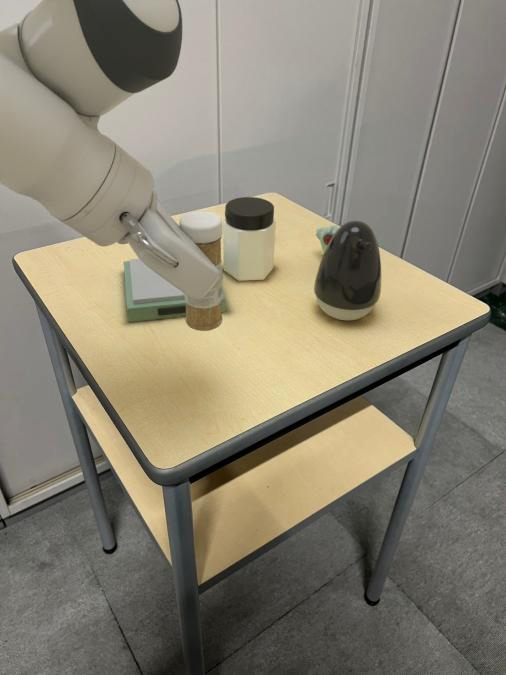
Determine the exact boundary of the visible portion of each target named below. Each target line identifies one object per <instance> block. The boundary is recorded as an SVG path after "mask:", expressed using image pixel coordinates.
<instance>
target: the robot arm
mask: <svg viewBox="0 0 506 675" xmlns="http://www.w3.org/2000/svg"><path fill="white" fill-rule="evenodd" d="M182 41H183V15H182V9H181V5H180V3H179V0H41V1H40V2H39V3H38V4H37V5H36V6H35V7H34V8H33V9H32V10H30V11H29V12H28V13H26V14H25V16H24V17H23V18H22V19H21V20H20V21H19V22H14V23H13V24H12V25H10V26H8V27H5V29H2V30H0V184H1V185H3V186H4V187H6V188H7V189H8V190H10V191H12V192H14V193H16V194H19V195H22V196H26V197H28V198H30V199H32V200H34V201H36V202H38V203H39V204H40V205H42V206H43V207H44V208H45V209H46V211H47V212H49V214H50V215H51V216H52V217H53V218H55V219H56V220H58V221H59V222H61V223H62V224H64V225H66V227H68V228H70V229H72V230H73V231H75V232H77V233H78V234H80V235H81V236H83V237H85V238H86V239H87V240H88V241H91V242H92V243H94V244H96V246H99V247H109V246H112V245H114V244H116V243H117V244H118V245H127V244H128V245H129V246H130V248H131V250H132V251H133V252H134V254H135V255H136V256H137V259H140V260H141V261H142V262H143V263H144V264H145V265H147V266H148V267H149V268H150V269H151V270H153V271H154V272H155V273H157V274H158V275H159V276H161V277H162V278H163V279H165V280H166V281H168V282H169V283H170V284H172V285H173V286H175V287H176V288H177V289H179V290H180V291H182V292H183V293H185V294H186V295H188V296H189V297H191V298H193V299H197V300H200V299H202V298H203V297H204V296H205V295H206V294H207V293H208V292H209V290H210V289H211V288H215V287H217V286H218V285H219V284H220V282H221V281H222V282H223V281H224V280H223V279H224V276H223V273H222V274H221V273H220V271H219V270H218V269H217V268H216V267H215V265H214V264H213V263H212V262H211V261H210V260H209V259H208V258H207V256H206V255H205V254H204V253H203V252H202V251H201V250H200V249H199V247H198V246H197V245H196V244H195V243H194V242H193V241H192V240H191V238H190V237H189V236H188V235H187V234H186V233H185V232H184V231H183V230H182V229H181V228H180V226H179V223H178V222H176V220H175V219H174V218H173V217H172V216H171V214H170V213H169V212H168V211H167V210H166V209H165V208H164V207H163V206H162V204H161V203H160V202H159V198H158V194H157V192H156V191H155V190H154V183H155V182H154V176H153V174H152V171H150V170H149V169H147V167H146V166H144V165H143V164H142V163H141V162H139V160H137V159H135V157H133V156H132V155H131V154H129V153H128V152H127V151H126V150H125V149H123V148H122V147H121V146H120V145H119V144H117V142H115V141H114V140H113V139H111V138H110V137H109V136H107V135H105V134H103V133H101V131H100V130H99V127H98V124H99V121H100V119H101V117H102V116H104V115H106V114H107V113H109V112H111V111H112V110H114V109H115V108H116V107H118V106H119V105H121V104H122V103H123V102H125V101H126V100H128V99H129V98H131V97H132V96H133V95H136V94H138V93H141V92H144V91H145V90H146V89H148V88H150V87H153V86H154V85H156V84H158V83H160V82H162V81H164V80H166V79H168V78H169V77H171V76H172V75H173V74H174V72H175V71H176V69H177V67H178V63H179V59H180V55H181V50H182V45H183V44H182V43H183V42H182Z"/></svg>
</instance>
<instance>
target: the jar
mask: <svg viewBox="0 0 506 675" xmlns="http://www.w3.org/2000/svg"><path fill="white" fill-rule="evenodd" d="M224 209H225V210H224V217H225V218H224V220H222V252H223V253H222V254H223V255H222V256H223V258H222V261H223V265H222V267H223V269H222V270H223V271H224V272H225V273H227V274H228V275H230V276H231V277H232V278H233V279H235V280H237V281H239V282H241V281H264V280H265V279H266V277H268V275H269V274H270V273H271V272H272V270H274V263H275V262H274V261H275V242H276V241H275V240H276V222H277V220H276V219H274V218H275V206H274V204H273V203H272V202H270V201H269V200H267V199H264V198H261V197H254V196H244V197H243V196H242V197H236V198H233V199H231V200H229V201H228V202H226V204H225V208H224Z"/></svg>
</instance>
